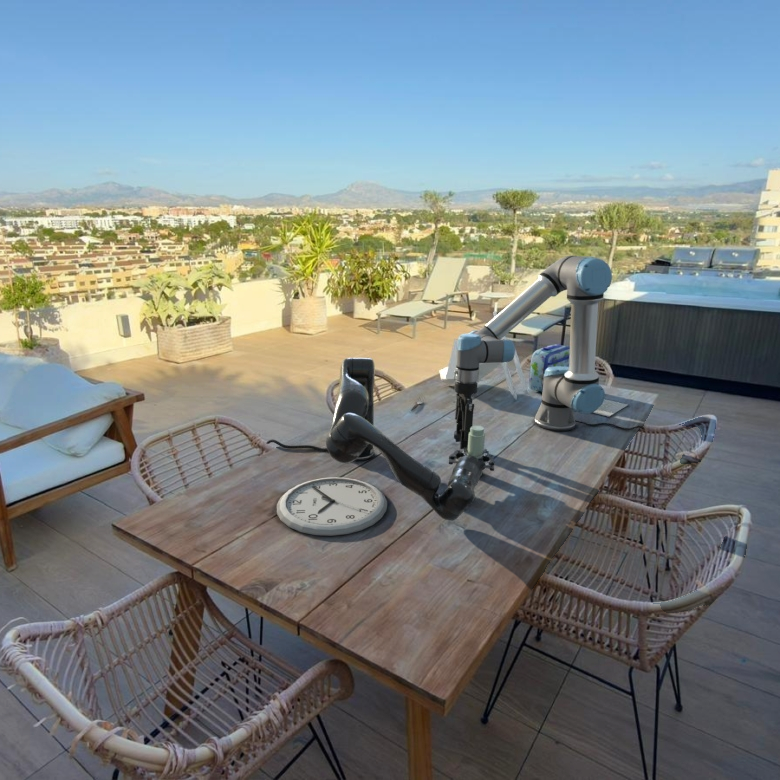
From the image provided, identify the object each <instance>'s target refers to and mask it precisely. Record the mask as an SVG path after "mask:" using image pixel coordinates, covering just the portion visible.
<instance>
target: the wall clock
mask: <svg viewBox="0 0 780 780" xmlns="http://www.w3.org/2000/svg"><path fill="white" fill-rule="evenodd" d="M387 509H388V500H387V498H386V496H385V494H384V493H383V492H382V491H381V490H380V489H379V488H377V487H376V486H374V485H372V484H371V483H369V482H365V481H362V480H359V479H355V478H349V477H338V476H337V477H335V476H333V477H332V476H331V477H322V478H317V479H312V480H307V481H305V482H302V483H299V484H297V485H295V486H293V487H292V488H290V489H288V490H287V491H286V492H285V493H284V494H283V495H281V496H280V498H279V499H278V502H277V503H276V515H277V517H278V518H279V520H280V521H281V522H282V523H283V524H285V525H286V526H287V527H288V528H290V529H293V530H295V531H297V532H299V533H303V534H308V535H312V536H327V537H328V536H329V537H331V536H332V537H333V536H342V535H350V534H352V533H356V532H361V531H363V530H366V529H368V528H369V527H372V526H373V525H375V524H376V523H378V522H379V521H380V520H381V519H382V518H383V517H384V516H385V514H386V512H387Z"/></svg>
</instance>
